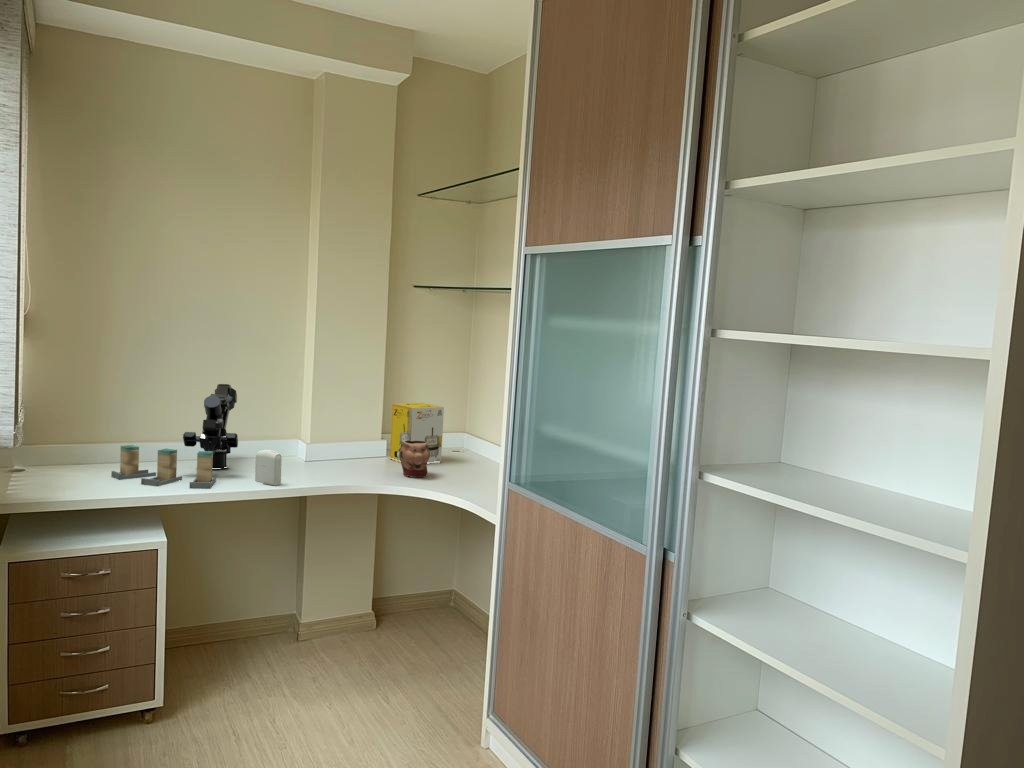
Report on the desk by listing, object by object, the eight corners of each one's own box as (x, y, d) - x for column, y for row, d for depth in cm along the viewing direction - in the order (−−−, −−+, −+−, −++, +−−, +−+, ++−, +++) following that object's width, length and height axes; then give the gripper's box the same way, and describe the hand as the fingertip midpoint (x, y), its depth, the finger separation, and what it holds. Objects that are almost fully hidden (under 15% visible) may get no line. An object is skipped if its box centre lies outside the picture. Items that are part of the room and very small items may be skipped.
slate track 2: (165, 479, 296) (165, 472, 295) (182, 481, 294) (182, 474, 294) (141, 485, 283) (141, 478, 283) (158, 487, 281) (158, 480, 281)
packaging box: (410, 466, 350) (413, 407, 348) (389, 459, 362) (392, 403, 360) (440, 463, 360) (443, 407, 359) (419, 457, 373) (422, 402, 371)
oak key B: (165, 478, 294) (166, 448, 293) (176, 480, 293) (177, 449, 292) (157, 481, 289) (157, 450, 288) (168, 482, 288) (168, 451, 287)
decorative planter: (391, 470, 337) (393, 437, 336) (420, 470, 342) (422, 437, 341) (406, 480, 319) (407, 445, 318) (435, 479, 324) (437, 444, 323)
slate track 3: (196, 481, 294) (196, 475, 294) (215, 482, 295) (216, 475, 295) (189, 489, 281) (189, 482, 281) (210, 490, 283) (210, 482, 282)
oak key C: (198, 481, 292) (199, 451, 292) (211, 481, 293) (212, 451, 292) (196, 484, 288) (197, 453, 287) (209, 484, 289) (210, 453, 288)
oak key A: (132, 474, 297) (133, 444, 296) (138, 476, 294) (139, 446, 293) (120, 476, 294) (120, 445, 293) (125, 478, 291) (126, 447, 290)
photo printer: (252, 482, 299) (254, 449, 298) (261, 480, 303) (262, 447, 302) (274, 486, 294) (275, 452, 293) (282, 484, 298) (283, 451, 297)
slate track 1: (147, 474, 302) (147, 467, 302) (156, 477, 298) (156, 470, 298) (111, 477, 292) (111, 470, 292) (119, 481, 288) (120, 474, 288)
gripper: (184, 410, 299) (177, 444, 289) (238, 411, 302) (233, 446, 292) (188, 428, 307) (181, 462, 297) (240, 429, 311) (235, 463, 301)
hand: (207, 458), depth 296 cm, fingers closed
